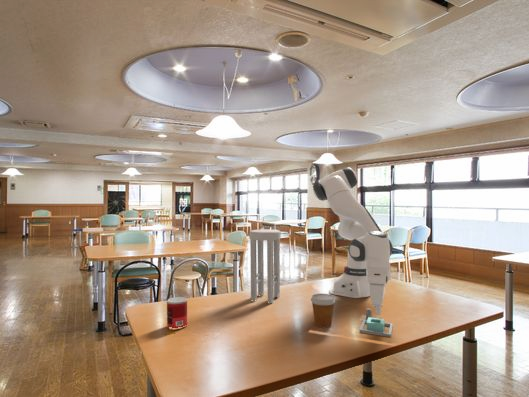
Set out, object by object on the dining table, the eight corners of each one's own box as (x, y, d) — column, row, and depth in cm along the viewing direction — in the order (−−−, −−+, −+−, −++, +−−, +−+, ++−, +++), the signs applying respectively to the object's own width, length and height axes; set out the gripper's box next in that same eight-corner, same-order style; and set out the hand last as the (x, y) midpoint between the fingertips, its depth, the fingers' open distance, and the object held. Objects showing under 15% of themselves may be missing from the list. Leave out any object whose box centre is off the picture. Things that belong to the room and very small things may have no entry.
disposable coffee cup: (320, 333, 126) (320, 301, 126) (306, 324, 134) (306, 295, 134) (340, 328, 130) (340, 298, 130) (325, 320, 138) (325, 292, 138)
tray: (359, 334, 124) (359, 329, 124) (363, 324, 134) (363, 319, 134) (390, 339, 119) (390, 334, 119) (392, 328, 129) (392, 323, 129)
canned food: (190, 324, 136) (190, 297, 136) (179, 331, 128) (179, 303, 128) (174, 322, 138) (174, 295, 138) (163, 329, 131) (162, 301, 131)
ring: (366, 331, 125) (366, 322, 125) (368, 326, 131) (368, 317, 131) (383, 334, 123) (383, 324, 123) (384, 328, 128) (384, 319, 128)
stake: (358, 322, 136) (358, 310, 136) (361, 317, 142) (361, 305, 142) (376, 325, 133) (376, 313, 133) (378, 319, 139) (378, 307, 139)
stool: (245, 301, 164) (244, 231, 164) (257, 293, 179) (257, 228, 179) (274, 305, 159) (273, 232, 159) (284, 296, 173) (284, 229, 173)
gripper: (372, 267, 137) (372, 300, 137) (366, 279, 119) (367, 318, 119) (388, 268, 135) (389, 302, 135) (385, 281, 116) (386, 320, 116)
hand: (379, 309), depth 127 cm, fingers open, 8 cm apart
